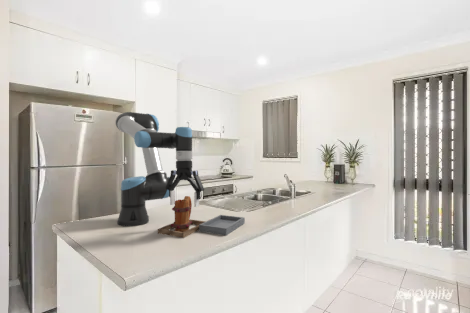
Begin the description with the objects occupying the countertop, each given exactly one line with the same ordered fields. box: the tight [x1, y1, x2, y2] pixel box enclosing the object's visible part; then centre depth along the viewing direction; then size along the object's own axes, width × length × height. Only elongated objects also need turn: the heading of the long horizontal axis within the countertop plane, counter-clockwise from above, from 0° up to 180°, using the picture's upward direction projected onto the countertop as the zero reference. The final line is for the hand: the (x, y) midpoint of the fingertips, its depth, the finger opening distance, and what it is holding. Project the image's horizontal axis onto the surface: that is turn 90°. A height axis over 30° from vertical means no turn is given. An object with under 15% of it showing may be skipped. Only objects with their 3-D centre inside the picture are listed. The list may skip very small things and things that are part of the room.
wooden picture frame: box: [157, 218, 207, 239], centre depth 118 cm, size 14×20×2 cm
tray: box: [198, 214, 246, 236], centre depth 122 cm, size 14×21×3 cm, turn 156°
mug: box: [171, 195, 193, 232], centre depth 118 cm, size 15×8×15 cm, turn 168°
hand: (184, 205), depth 118 cm, fingers open, 13 cm apart
